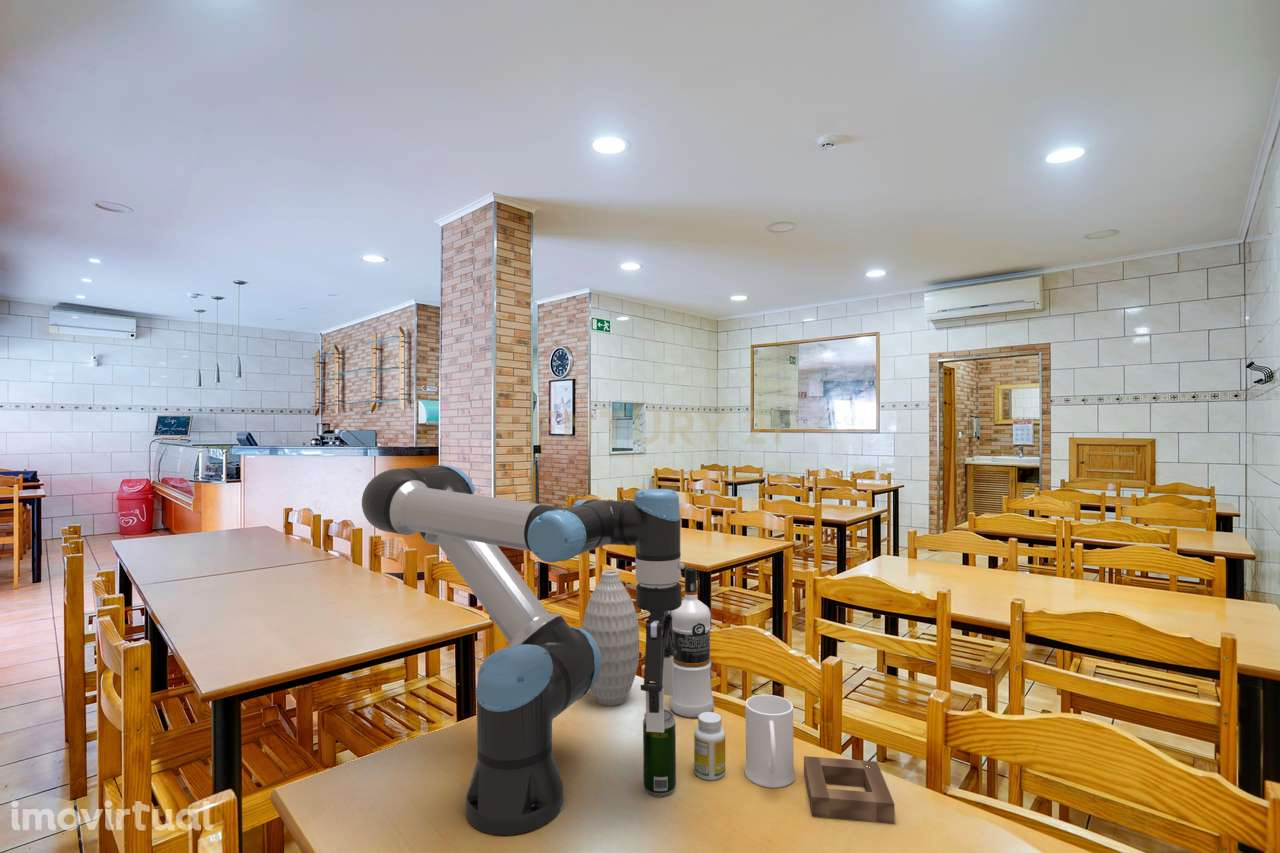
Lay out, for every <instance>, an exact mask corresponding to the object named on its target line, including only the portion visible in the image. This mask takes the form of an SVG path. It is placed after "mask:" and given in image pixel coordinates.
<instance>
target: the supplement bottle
mask: <svg viewBox="0 0 1280 853" xmlns="http://www.w3.org/2000/svg"><path fill="white" fill-rule="evenodd" d="M697 719H698V720H697V723H698V725H697V727H695V730H694V733H693V737H694V738H693V739H694V740H693V742H694V745H693V750H694V751H693V753H694V754H693V755H694V756H693V757H694V758H693V759H694V762H693V764H694V765H693V766H694V768H693V769H694V773H695V774H696V776H697V777H699V778H700V779H702V780H706V781H716V780H719V779H721V778H723V777H724V776H725V774H726V731H725V730H724V728H723V727H722V724H723V723H722V720H723V719H722V717H721V715H720V714H719V713H716V712H713V711H711V712H704V713H701V714H700V715H699V716H698V717H697Z"/></svg>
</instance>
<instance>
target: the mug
mask: <svg viewBox="0 0 1280 853" xmlns="http://www.w3.org/2000/svg"><path fill="white" fill-rule="evenodd" d="M744 708H745V710H744V711H745V713H744V714H745V765H744V774H745V776H746V778H747V780H749V781H751V782H752V783H754V784H756V785H758V786H759V787H760V786H761V787H764V788H771V789H779V788H784V787H787V786H789V785H792V783H794V781H795V780H796V779H795V778H796V772H795V766H794V763H795V762H794V760H795V759H794V758H795V756H794V705H793V703H792V702H791V701H790V700H788V699H786V698H785V697H782V696H779V695H772V694H758V695H753V696H750V697H748V698H747V699H746V701H745V707H744Z"/></svg>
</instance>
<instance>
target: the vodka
mask: <svg viewBox="0 0 1280 853" xmlns="http://www.w3.org/2000/svg"><path fill="white" fill-rule="evenodd" d="M697 574H698V573H697V568H695V567H686V568H685V567H684V599H682V604H681V606H680V607H679V608H678V609H675V610H672V611H671V616H672V629H673V641H674V648H673V649H677V656H672V657H673V684H674V695H673V696H670V695H669V706H670V708H671V710H672V711H673V713H675V714H677V715H678V714H679V716H682V717H685V718H691V717H693V718H694V717H695V718H698V716H699V715H700V714H701V713H704V712H713V708H714V702H715V701H714V696H713V693H712V692H713V691H712V685H711V684H712V683H711V668H712V667H711V666H712V661H711V629H712V628H711V627H712V625H711V616H712V613H711V610H710V607H708V605H707V604H705V603H703V602H702V601H701V600H699V599H698V591H697V589H698V588H697V586H698V585H697V584H698V583H697V581H698V580H697V579H698V578H697V577H698V576H697ZM693 718H692V719H693ZM695 718H694V719H695Z"/></svg>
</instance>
